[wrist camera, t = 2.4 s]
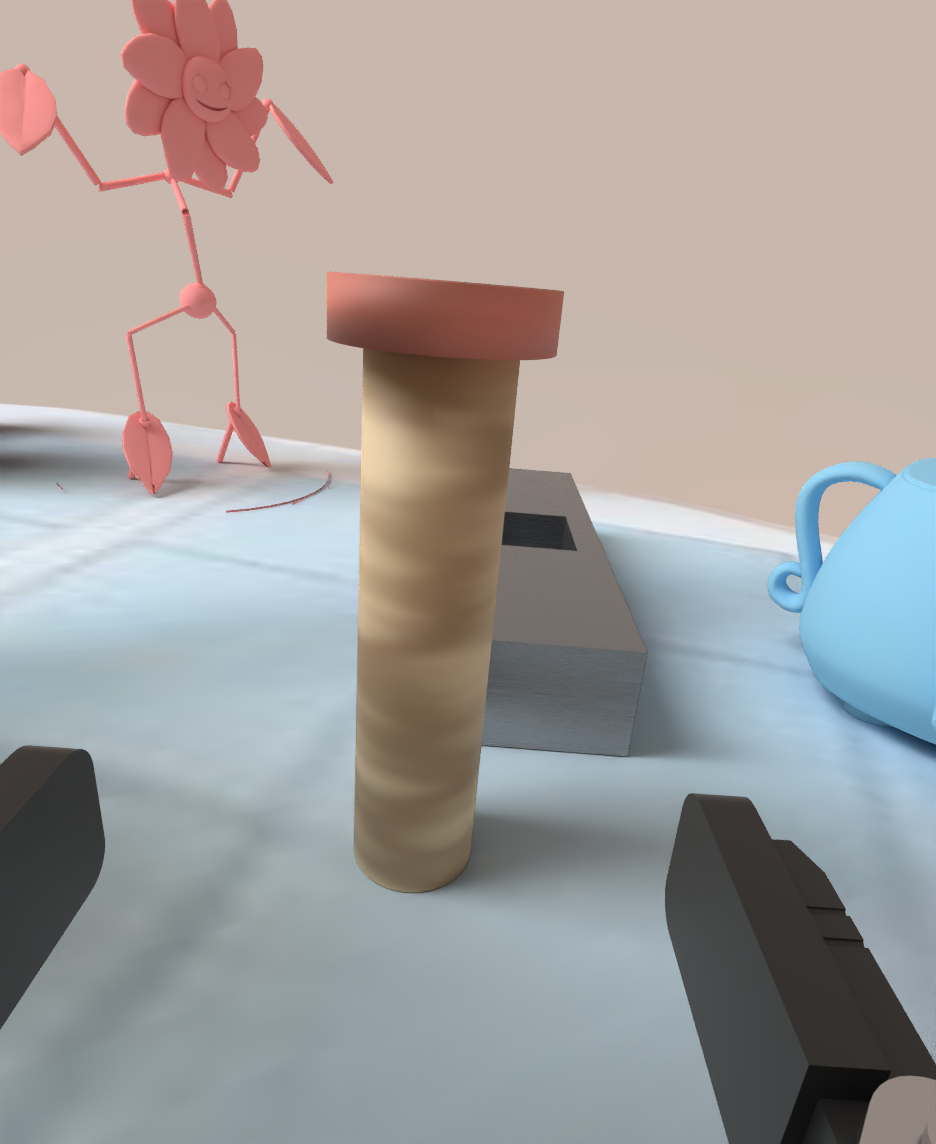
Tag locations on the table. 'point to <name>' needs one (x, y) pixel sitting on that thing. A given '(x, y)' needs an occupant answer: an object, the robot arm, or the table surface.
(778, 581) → the decorative pot
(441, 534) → the oak pin
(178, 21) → the figurine
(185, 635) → the table surface
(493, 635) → the bar
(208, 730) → the table surface
